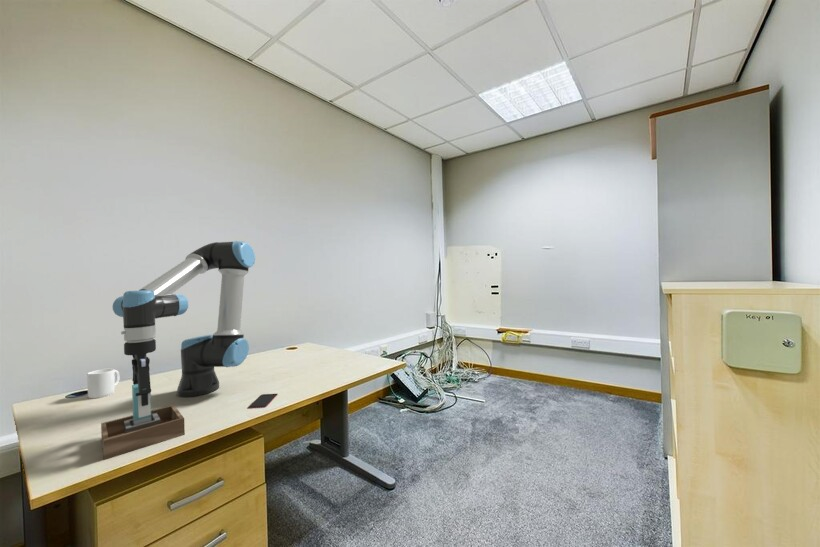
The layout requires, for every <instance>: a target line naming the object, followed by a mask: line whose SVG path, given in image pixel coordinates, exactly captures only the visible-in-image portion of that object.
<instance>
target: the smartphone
mask: <svg viewBox="0 0 820 547" xmlns="http://www.w3.org/2000/svg"><path fill="white" fill-rule="evenodd" d="M277 396H278V393H264V394H262V393H261V394H260V395H259V396H258V397H257V398H256V399H255V400H254V401H252V402H251V403H250V404H249V405H248V407H247V409H248V410H249V409H250V410H252V409H265V408H267V407H268V406H269V405H270V403H272V402H273V401H274V399H275V398H276V397H277Z"/></svg>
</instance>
